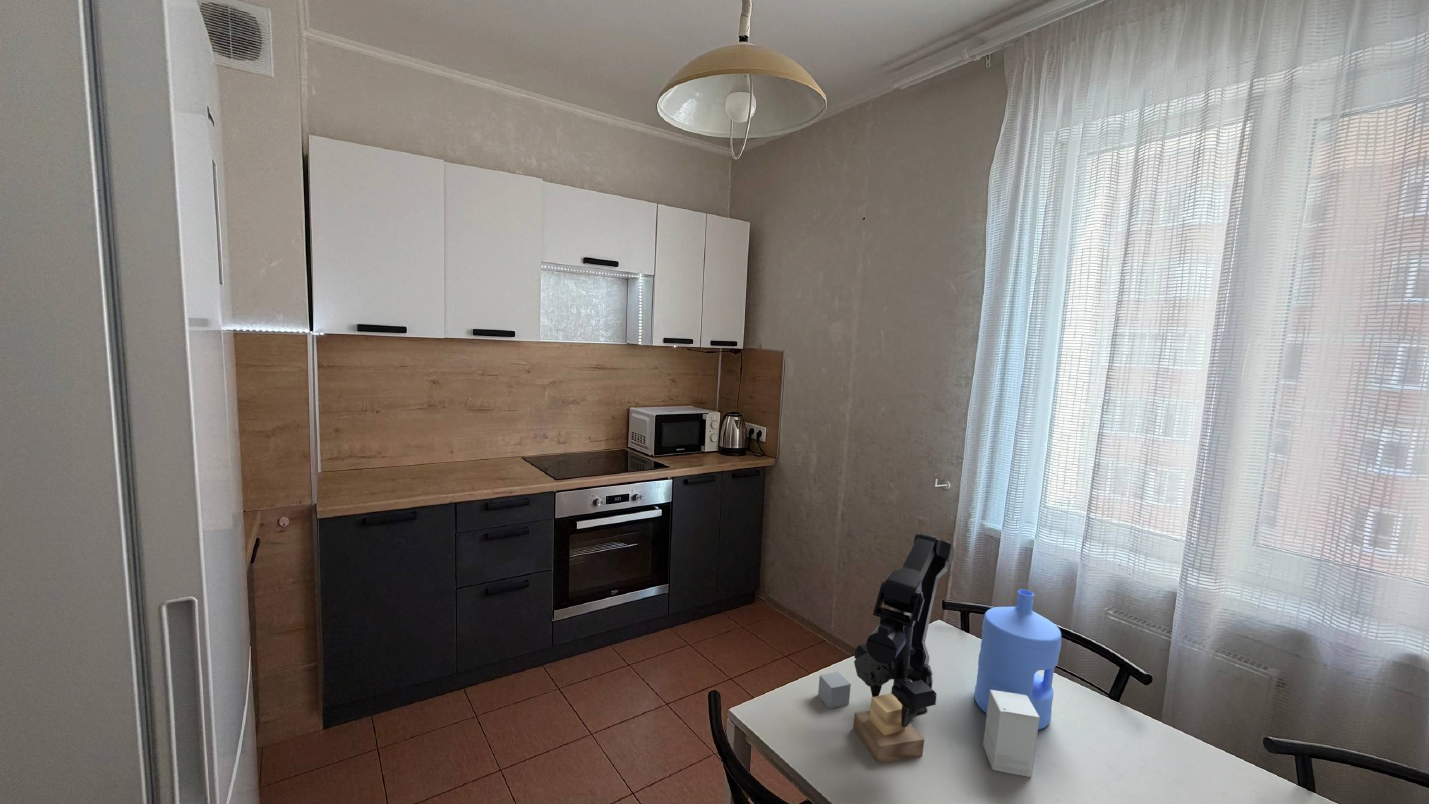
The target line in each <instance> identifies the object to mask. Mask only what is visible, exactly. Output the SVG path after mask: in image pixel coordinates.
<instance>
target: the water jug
mask: <svg viewBox="0 0 1429 804" xmlns="http://www.w3.org/2000/svg"><path fill="white" fill-rule="evenodd" d="M1034 597H1035V594H1034V592H1032V591H1030V590H1027V589H1019V590H1018V591H1017V597H1016V605H1015V606H996V607H992V608H989V609H988V610H986V611H985V613H984V617H983V621H982V627H981V631H982V633H981V634H982V635H981V642H980V650H979V654H978V660H977V661H978V662H977V663H978V664H977V666H978V667H977V676H976V683H975V685H974V692H973V693H974V699H975V702H976V704H977V706H978V707H979V708H980V709H981V710H982V711H983V712H984V713H985V714H986V715H987V709H988V701H989V693H990V690H996V691H1003V692H1010V693H1016V694H1022V695H1027V696H1028V698H1029V700H1030V701H1031V703H1032V705H1033V707H1034V708H1035V710H1036V712H1037V714H1038V715H1039V717H1040V718H1039V726H1038V730H1042V729H1045V728H1046V727H1047V726H1048V725H1050V722H1051V720H1052V714H1053V713H1052V708H1053V707H1052V706H1053V699H1054V694H1055V693H1054V688H1053V681H1054V680H1053V679H1054V672H1055V667H1056V666H1058V664H1059V658H1060V657H1059V656H1060V653H1061V648H1062V631H1061V630H1060V628H1059V627H1058V626H1057V625H1056V624H1055V623H1054V622H1052V621H1051V620H1049V619H1048V618H1046V617H1045V616H1042V615H1040V614H1039V613H1037V612H1035V611H1034V610H1033V604H1034V600H1033V599H1034ZM1039 671H1043V676H1042V675H1040V674H1039V673H1038V672H1039Z"/></svg>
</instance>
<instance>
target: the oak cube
mask: <svg viewBox="0 0 1429 804" xmlns="http://www.w3.org/2000/svg"><path fill="white" fill-rule="evenodd" d="M869 711H870V718H869V720H870V721H871V722H872V723H873V724H874V725H875V726H876V727H877V728H878V729H879V730H880V731H881V733H882V734H883V735H884V736H886V735H890V734H894V733H898V732H902V731H905V727H904V728H903V727H902V725H901V714H902V704H901V703H900V702H899V701H898V700H897V698H896V697H895V696H894V695H893V694H892V693H891V692H889V693H886V694H885V693H884V694H881V695H880V694H879V696H875V697H872V696H871V699H870V710H869Z"/></svg>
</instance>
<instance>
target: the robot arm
mask: <svg viewBox="0 0 1429 804" xmlns="http://www.w3.org/2000/svg"><path fill="white" fill-rule="evenodd" d="M954 557H955V547H954V546H953V544H952V543H951V542H950V541H949V540H943V539H941V538H939V537H938V536H937V535H932V534H928V533H923V532H920V533H918V532H917V533H916V534H915V535H914V537H913V541H912V546H911V549H910V551H909V552H908V555H907V556H906V558H905V560H904V562H903V564H902V566H901V567H900V569H897V570H894V571H891V572H890V573H889V574H888V576H887V577H886V579H885V580H883V581H882V582H881V585H880V588H879V591H878V594H877V599H876V602H875V605H874V610H873V613H872V615H873V616H875V617H878V618H880V619H879V620H880V621H879V624H878V625H877V626H876V628H875V629H874V630H873V632H871V633H870V635H869V636H868V638H867V639H866V641H865V642H866V643H862V644H858V646H857V647H855V649H854V659H855V660H854V661H853V664H854V668H855V671H856V676H857V677H858V678H859V679H861V681H863V683H864V684H865V685H866V686H867V687H869V688H870V693H871V697H875V696H880V693H881V690H882V686H884V685H885V684H887V683H889V681H891V680H893V685H892V686H891V692H890V693H892V694H893V695H894V696H895V697H896V698H897V700H898V701H899V702H900V703H901V704H902V714H901V725H902V727H903V728H904V727H907V726H908V725H909V723H910V724H911V722H912V721H913V719H914V718H915V716H916V715H920V714H924V713H927V712H928V708H929V707H932V706H935V705H936V704H937V692H936V691H935V690H934V689H933V671H932V668H931V665H930V654H929V652H928V649H927V646H926V640H927V639H926V638H927V635H928V630H929V625H930V621H931V617H932V611H933V606H934V602H935V601H934V600H935V596H936V592H937V587H938V583H939V579H940V578H941V577H943V576H944V575H945V574H946V573H947V572H948V570H949V567H950V564H951V563H953V561H954ZM882 606H886V607H889V608H890V609H889V608H886V607H882Z"/></svg>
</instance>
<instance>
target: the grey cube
mask: <svg viewBox="0 0 1429 804" xmlns="http://www.w3.org/2000/svg"><path fill="white" fill-rule="evenodd" d="M818 678H819V680H818V691H817V696H818V697H819V698H820V699H821V700H822V701H823V703H824V704H825V705H826V706H827V708H829V709H830V710H831V709H835V708H838V707H839V708H840V707H843V706H844V707H845V706H848V705H847V704H850V695H851V683H850V682H849V680H848V679H846V678H845V677H844V676H843V675H842V674H841V673H840V672H839V671H834V672H829V673H824V674H820V675H819V677H818Z"/></svg>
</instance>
